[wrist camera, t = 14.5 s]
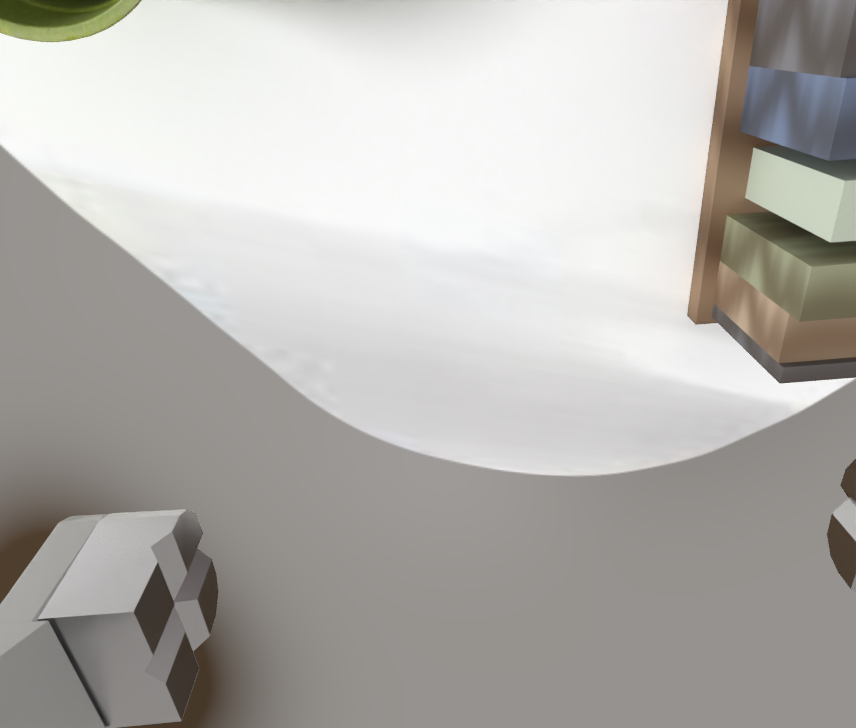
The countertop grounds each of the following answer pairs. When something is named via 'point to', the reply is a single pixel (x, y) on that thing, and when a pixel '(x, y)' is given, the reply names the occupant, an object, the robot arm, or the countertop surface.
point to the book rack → (760, 228)
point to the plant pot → (60, 18)
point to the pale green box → (806, 190)
